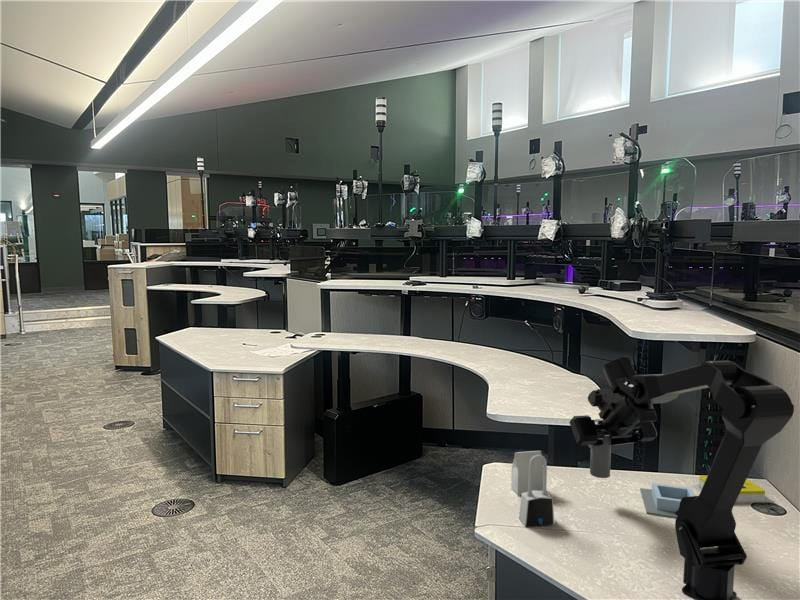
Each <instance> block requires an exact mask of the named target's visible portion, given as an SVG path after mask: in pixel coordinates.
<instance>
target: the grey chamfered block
mask: <svg viewBox="0 0 800 600" xmlns="http://www.w3.org/2000/svg"><path fill="white" fill-rule="evenodd" d="M535 455H542V451H541V450H529V451H517V452H516V451H515V452H514V456H513V460H512V465H511V490H512V491H513V493H514V492H515V493H516V494H517V495H518V496H519V495H521V494H522V493H524V492H528V481H529V464H530V460H531V458H532V457H533V456H535ZM543 470H544V466H543V460H542V459H541V458H537V459H535V460H534V461H533V466H532V490H531V491H533V490H537V491H542V490H543ZM515 493H514V494H515ZM516 494H515V495H516ZM517 495H516V496H517Z"/></svg>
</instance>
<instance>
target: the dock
mask: <svg viewBox="0 0 800 600" xmlns="http://www.w3.org/2000/svg"><path fill="white" fill-rule="evenodd" d="M639 490H640V494H641V498H642V502H643V506H644V509H645V513H646V514H647V515H652V516H653V515H654V516H659V517H666V518H673V519H676V518H677V515H675V512H676V511H677V510H678V509H679V506H680V501H681V500H682V498H683V497H690V496H696V494H695V493H694V491H693V489H692V488H691V487H685V486H677V485H669V484H662V483H654V482H652V483H651V489H649V488H643V487H641V488H639Z"/></svg>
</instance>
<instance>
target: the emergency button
mask: <svg viewBox="0 0 800 600" xmlns="http://www.w3.org/2000/svg"><path fill="white" fill-rule="evenodd" d="M707 476H708V475H700V476H699V477H698V483H697V484H693V485H692V488H694V489H695V490H696V491H698V492H699V493H700V492H701V490H702V488H703V485H704V483H705V481H706V478H707ZM774 502H775V501H774V499H772V498H771V497H769V496H767V495H766V491H765V489H764V488H763V487H761V486H759V485H757V484H756V483H754V482H753V481H751V480H749V479H748V478H747V479H746V481H745V483H744V485H743V487H742V489H741V491H740V494H739V496H738V498H737V500H736V502H735V503H774Z"/></svg>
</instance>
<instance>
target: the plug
mask: <svg viewBox="0 0 800 600" xmlns="http://www.w3.org/2000/svg"><path fill="white" fill-rule="evenodd" d="M593 420H594V421H595V424H596V425H599V424H598V421H603V419H601V418H597V419H596V418H594V419H593ZM602 441H603V445H599V446H594V447H590V462H589V474H590V475H591V476H593V477H595V478H597V479H607V478H610V476H611V461H612V458H611V457H612V455H611V454H612V446H611V438H610V436H604V438H603V439H602Z"/></svg>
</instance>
